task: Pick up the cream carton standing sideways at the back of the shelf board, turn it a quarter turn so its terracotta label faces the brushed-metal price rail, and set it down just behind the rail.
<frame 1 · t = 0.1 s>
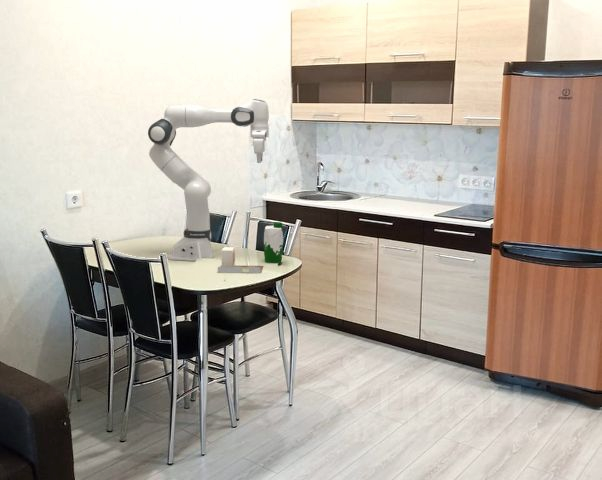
hand: (259, 162, 310), 48 cm above the table, fingers open, 8 cm apart
milk carton: (273, 263, 308), on the table
price rail: (239, 275, 285), resting on shelf board
shelf board: (240, 271, 291), on the table
carton: (233, 268, 293), point 1 cm above the table, touching shelf board
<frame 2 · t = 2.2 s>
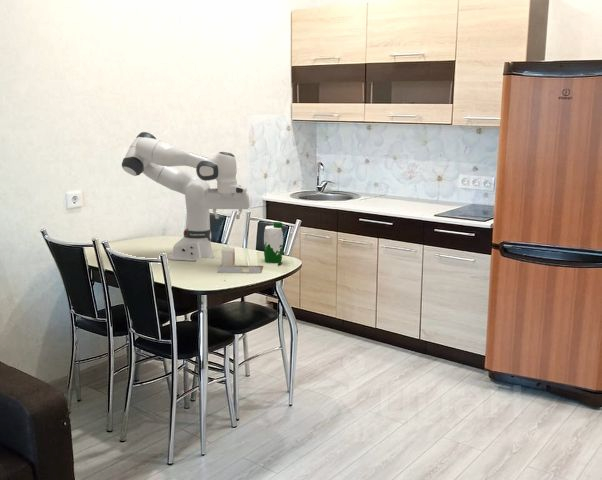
hand: (227, 218, 289), 24 cm above the table, fingers open, 8 cm apart
nothing on the table moved.
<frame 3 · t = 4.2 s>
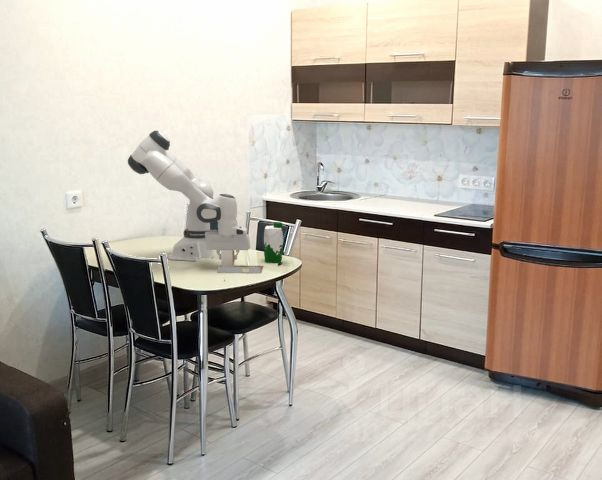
hand: (228, 259, 292), 5 cm above the table, fingers closed on carton, 5 cm apart
carton: (233, 267, 293), point 1 cm above the table, touching gripper, shelf board
everything else where it was.
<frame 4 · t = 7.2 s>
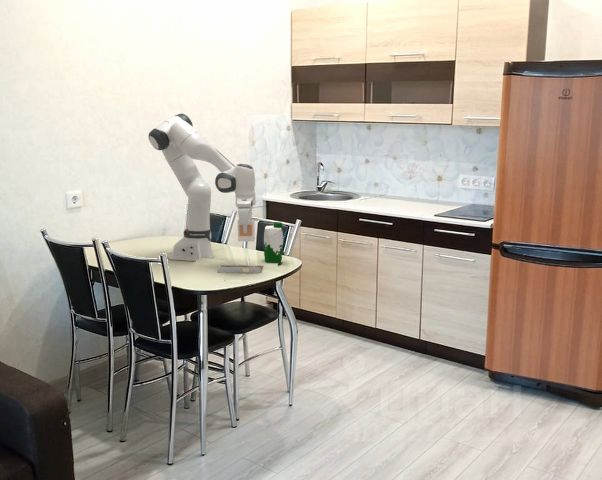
hand: (246, 231, 285), 19 cm above the table, fingers closed on carton, 5 cm apart
carton: (245, 241, 283), point 15 cm above the table, touching gripper
everything else where it was.
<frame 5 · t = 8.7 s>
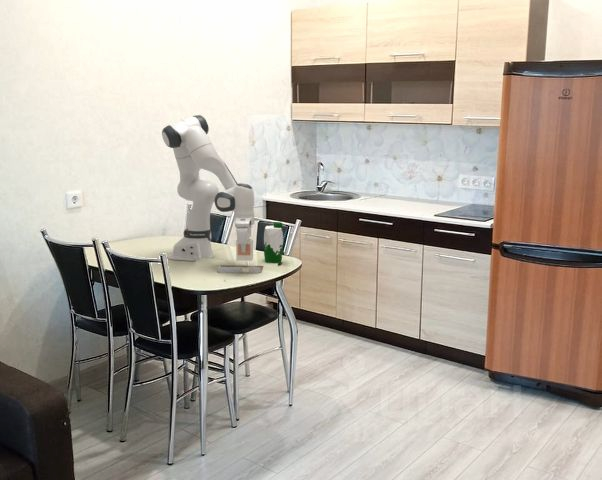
hand: (244, 250, 286), 11 cm above the table, fingers closed on carton, 5 cm apart
carton: (244, 260, 285), point 7 cm above the table, touching gripper
everything else where it was.
when the fingers open (6 cm above the table, at t = 10.0 s): carton drops 1 cm, resting on shelf board.
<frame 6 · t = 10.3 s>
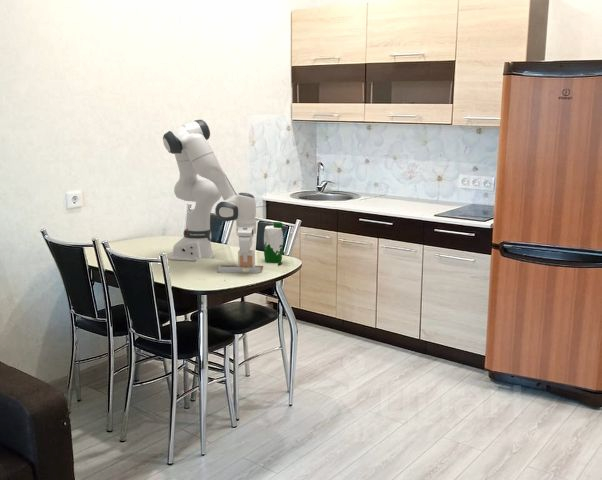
hand: (246, 259, 288), 6 cm above the table, fingers open, 8 cm apart
carton: (246, 271, 286), point 1 cm above the table, touching shelf board
everything else where it was.
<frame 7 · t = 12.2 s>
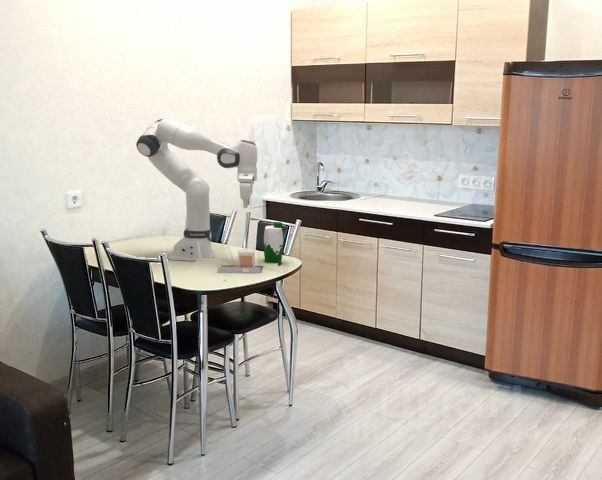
hand: (246, 206, 292), 29 cm above the table, fingers open, 8 cm apart
nothing on the table moved.
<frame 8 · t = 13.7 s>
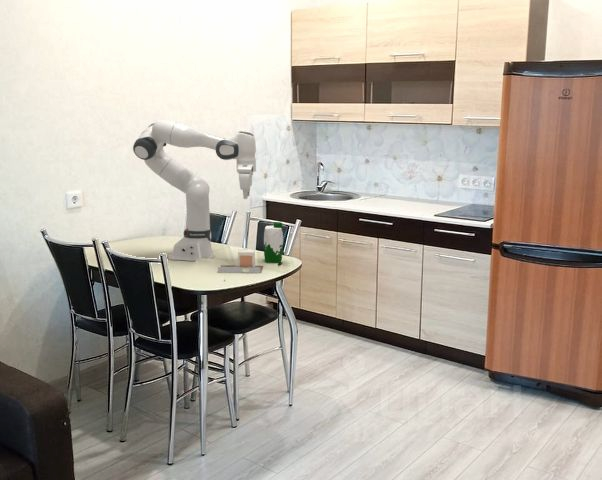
hand: (246, 197, 294), 33 cm above the table, fingers open, 8 cm apart
nothing on the table moved.
at the end: carton 0.4 cm from the target spot, point 1.2 cm above the table; carton tilted 0°; the gripper is holding nothing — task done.
